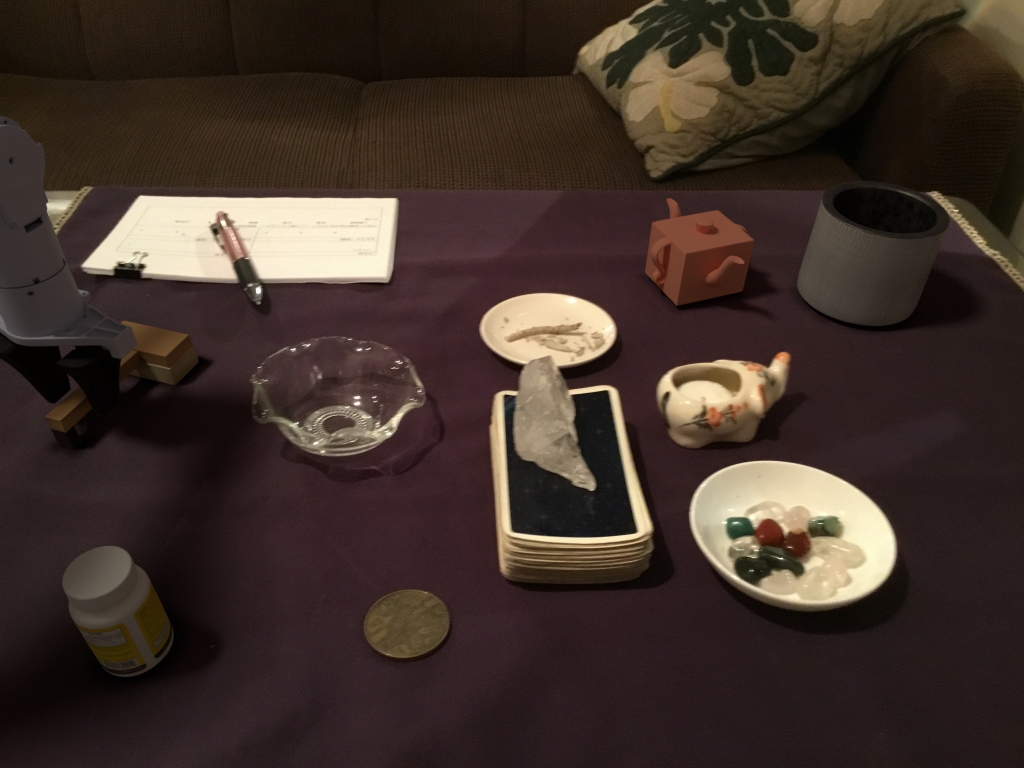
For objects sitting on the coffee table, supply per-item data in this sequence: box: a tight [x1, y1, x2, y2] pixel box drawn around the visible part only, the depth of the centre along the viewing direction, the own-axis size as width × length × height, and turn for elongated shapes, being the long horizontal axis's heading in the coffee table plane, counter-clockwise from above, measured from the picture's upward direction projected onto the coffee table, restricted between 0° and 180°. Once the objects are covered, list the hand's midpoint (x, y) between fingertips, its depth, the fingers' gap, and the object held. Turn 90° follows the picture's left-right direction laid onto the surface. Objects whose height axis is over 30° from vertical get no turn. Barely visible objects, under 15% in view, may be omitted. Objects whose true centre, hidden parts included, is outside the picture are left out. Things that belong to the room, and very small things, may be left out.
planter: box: [796, 180, 951, 327], centre depth 84 cm, size 13×13×11 cm
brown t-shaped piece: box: [44, 320, 200, 450], centre depth 72 cm, size 8×14×3 cm, turn 163°
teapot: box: [644, 197, 755, 307], centre depth 86 cm, size 12×15×8 cm
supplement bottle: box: [61, 545, 175, 678], centre depth 51 cm, size 5×5×8 cm
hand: (84, 402), depth 69 cm, fingers open, 5 cm apart
